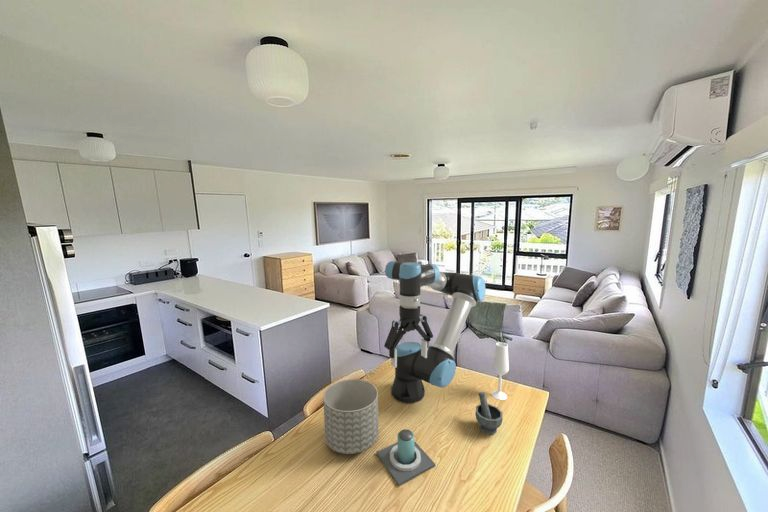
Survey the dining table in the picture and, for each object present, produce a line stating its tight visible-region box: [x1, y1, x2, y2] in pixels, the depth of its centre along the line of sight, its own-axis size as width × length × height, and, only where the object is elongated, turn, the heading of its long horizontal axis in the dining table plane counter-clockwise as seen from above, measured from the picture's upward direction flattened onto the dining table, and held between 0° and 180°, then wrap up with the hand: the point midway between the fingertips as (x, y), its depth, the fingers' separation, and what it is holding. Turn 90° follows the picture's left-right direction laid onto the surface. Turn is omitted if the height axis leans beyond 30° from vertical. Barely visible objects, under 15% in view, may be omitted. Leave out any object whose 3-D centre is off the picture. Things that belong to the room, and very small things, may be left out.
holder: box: [376, 440, 436, 487], centre depth 97 cm, size 14×14×2 cm
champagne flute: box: [490, 341, 510, 401], centre depth 130 cm, size 7×7×24 cm
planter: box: [323, 378, 379, 455], centre depth 104 cm, size 19×19×18 cm
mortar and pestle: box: [475, 391, 503, 435], centre depth 111 cm, size 11×9×12 cm
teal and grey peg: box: [397, 428, 415, 465], centre depth 96 cm, size 6×6×9 cm
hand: (409, 361), depth 109 cm, fingers open, 13 cm apart
